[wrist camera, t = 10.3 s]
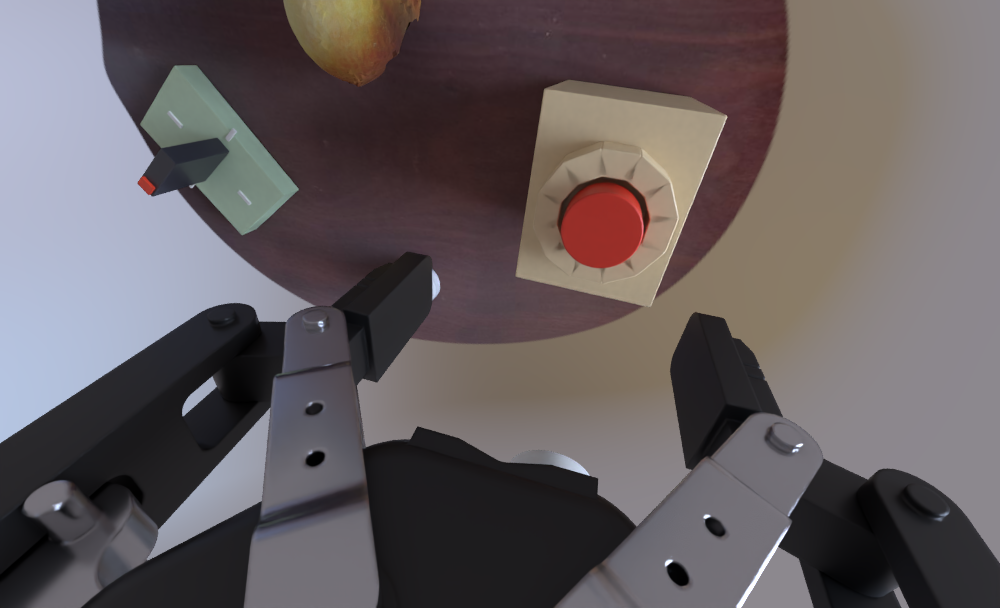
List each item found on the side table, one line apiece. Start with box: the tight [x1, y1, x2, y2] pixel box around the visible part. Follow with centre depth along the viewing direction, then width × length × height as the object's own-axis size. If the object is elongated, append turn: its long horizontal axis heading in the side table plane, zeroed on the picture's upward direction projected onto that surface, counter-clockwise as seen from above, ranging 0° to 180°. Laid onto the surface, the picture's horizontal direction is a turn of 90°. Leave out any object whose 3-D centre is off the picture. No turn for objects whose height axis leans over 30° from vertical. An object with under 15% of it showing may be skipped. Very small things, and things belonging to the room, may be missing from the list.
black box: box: [138, 138, 229, 196], centre depth 32 cm, size 5×1×5 cm, turn 124°
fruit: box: [283, 0, 421, 87], centre depth 23 cm, size 8×8×8 cm
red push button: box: [561, 182, 644, 268], centre depth 18 cm, size 4×4×2 cm
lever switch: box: [140, 65, 299, 235], centre depth 35 cm, size 12×9×2 cm
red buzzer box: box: [516, 80, 727, 307], centre depth 23 cm, size 10×8×12 cm
